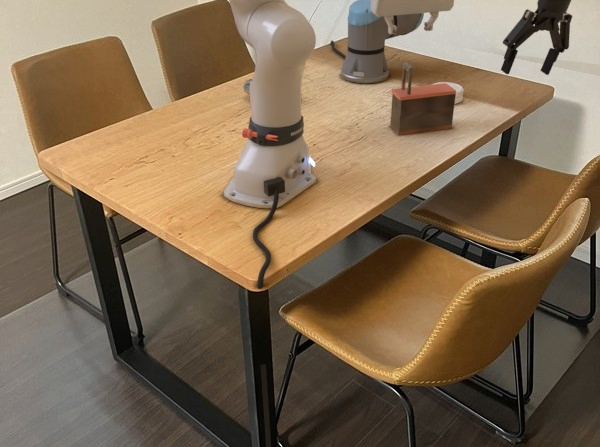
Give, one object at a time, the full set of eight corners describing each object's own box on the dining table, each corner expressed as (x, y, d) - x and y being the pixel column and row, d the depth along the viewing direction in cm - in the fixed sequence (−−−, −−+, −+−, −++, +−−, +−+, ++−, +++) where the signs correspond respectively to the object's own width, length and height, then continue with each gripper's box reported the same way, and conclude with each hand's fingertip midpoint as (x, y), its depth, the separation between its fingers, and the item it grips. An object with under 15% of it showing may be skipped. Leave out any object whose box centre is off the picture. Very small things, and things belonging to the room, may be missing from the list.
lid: (399, 100, 157) (402, 69, 152) (391, 92, 161) (393, 61, 157) (455, 93, 160) (459, 63, 156) (445, 86, 165) (448, 56, 160)
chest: (398, 135, 162) (401, 100, 157) (390, 126, 167) (392, 92, 161) (451, 128, 165) (455, 94, 160) (441, 119, 170) (445, 86, 165)
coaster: (424, 93, 186) (425, 82, 184) (456, 91, 187) (457, 80, 185) (433, 106, 178) (434, 94, 176) (467, 104, 179) (468, 92, 177)
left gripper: (450, -34, 148) (443, 25, 156) (369, -29, 144) (366, 32, 151) (462, -29, 143) (455, 31, 150) (379, -23, 139) (376, 39, 146)
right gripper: (527, -5, 148) (495, 77, 160) (604, 1, 157) (569, 79, 169) (508, -16, 153) (479, 65, 165) (585, -9, 162) (551, 67, 175)
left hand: (410, 31), depth 151 cm, fingers open, 8 cm apart
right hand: (524, 72), depth 167 cm, fingers open, 13 cm apart
